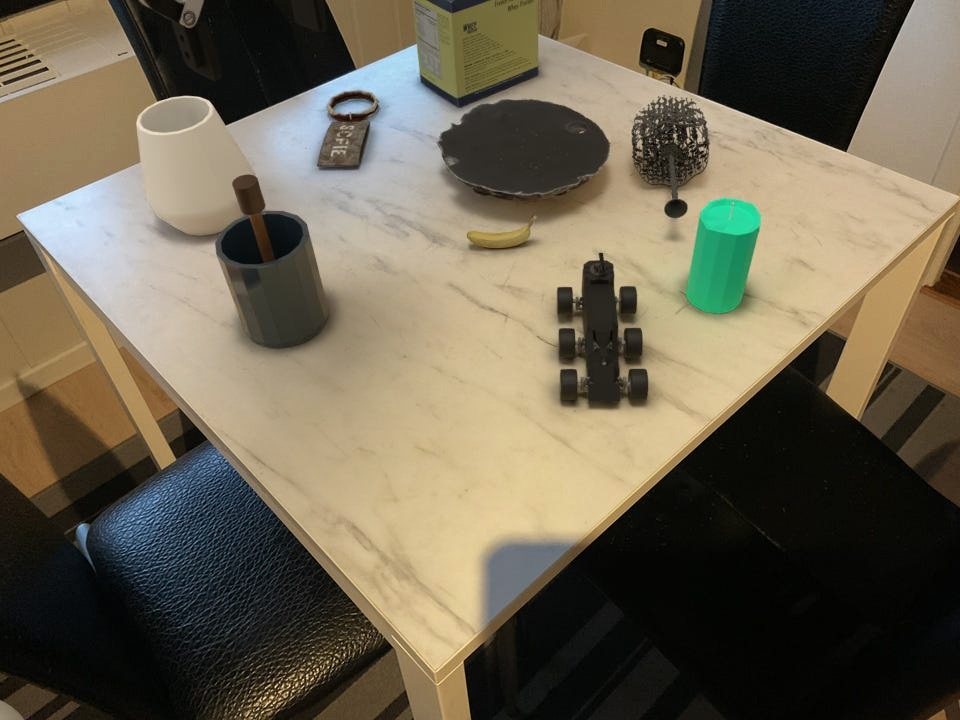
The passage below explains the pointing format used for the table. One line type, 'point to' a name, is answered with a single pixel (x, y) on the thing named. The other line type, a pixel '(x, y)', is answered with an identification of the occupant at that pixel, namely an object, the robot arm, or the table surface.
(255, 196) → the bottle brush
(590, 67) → the table surface
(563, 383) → the toy vehicle
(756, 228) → the candle
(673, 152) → the massage brush
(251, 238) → the container
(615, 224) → the table surface
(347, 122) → the keychain
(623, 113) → the table surface
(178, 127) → the cup
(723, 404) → the table surface
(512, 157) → the board
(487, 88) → the protein box
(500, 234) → the banana
